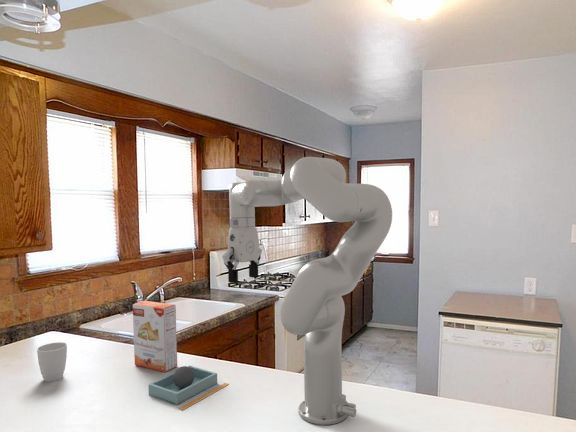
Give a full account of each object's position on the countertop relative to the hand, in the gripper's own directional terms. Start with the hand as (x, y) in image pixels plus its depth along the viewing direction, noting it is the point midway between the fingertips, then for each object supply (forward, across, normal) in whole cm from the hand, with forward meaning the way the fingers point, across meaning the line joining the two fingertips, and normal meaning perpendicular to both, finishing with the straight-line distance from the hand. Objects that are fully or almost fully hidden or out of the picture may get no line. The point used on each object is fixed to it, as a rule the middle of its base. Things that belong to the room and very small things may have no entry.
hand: (243, 279), depth 127 cm
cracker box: (+30, -8, +32) cm, 45 cm away
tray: (+30, -15, +9) cm, 35 cm away
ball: (+30, -15, +11) cm, 35 cm away
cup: (+30, -31, +52) cm, 68 cm away
